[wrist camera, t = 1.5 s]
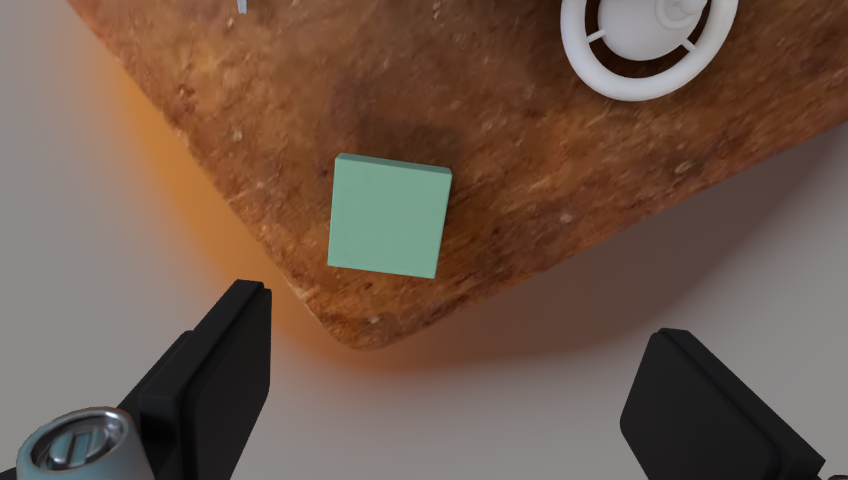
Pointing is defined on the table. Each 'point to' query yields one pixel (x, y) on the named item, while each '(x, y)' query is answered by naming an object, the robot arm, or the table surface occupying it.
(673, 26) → the ring around a ball
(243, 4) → the key chain
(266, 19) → the table surface
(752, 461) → the robot arm
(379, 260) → the plug pad
